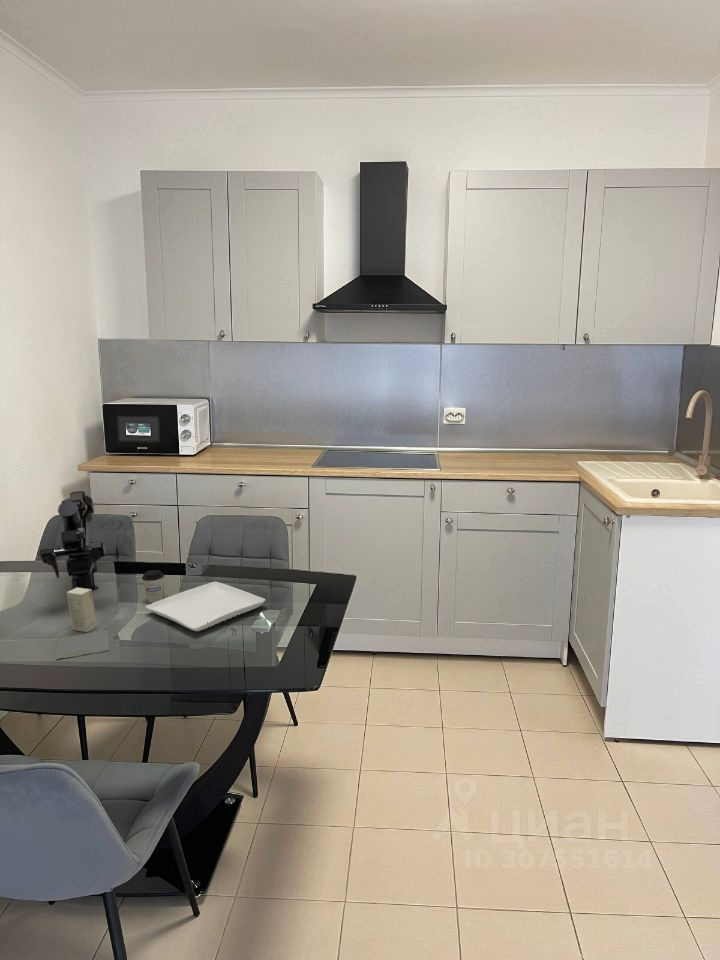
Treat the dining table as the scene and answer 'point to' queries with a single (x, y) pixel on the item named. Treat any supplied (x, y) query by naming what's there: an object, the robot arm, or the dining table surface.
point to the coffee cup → (153, 585)
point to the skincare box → (82, 609)
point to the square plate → (206, 605)
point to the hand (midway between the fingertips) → (73, 575)
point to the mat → (85, 642)
